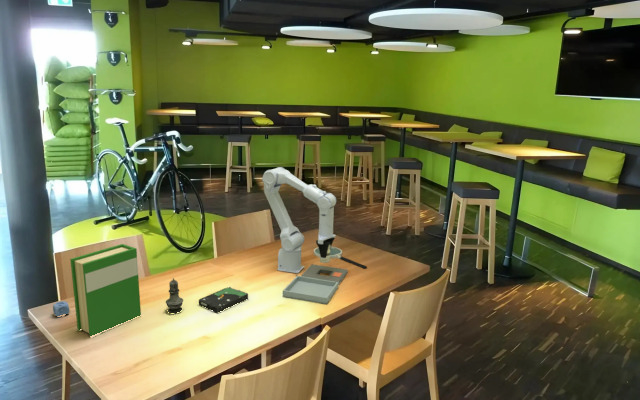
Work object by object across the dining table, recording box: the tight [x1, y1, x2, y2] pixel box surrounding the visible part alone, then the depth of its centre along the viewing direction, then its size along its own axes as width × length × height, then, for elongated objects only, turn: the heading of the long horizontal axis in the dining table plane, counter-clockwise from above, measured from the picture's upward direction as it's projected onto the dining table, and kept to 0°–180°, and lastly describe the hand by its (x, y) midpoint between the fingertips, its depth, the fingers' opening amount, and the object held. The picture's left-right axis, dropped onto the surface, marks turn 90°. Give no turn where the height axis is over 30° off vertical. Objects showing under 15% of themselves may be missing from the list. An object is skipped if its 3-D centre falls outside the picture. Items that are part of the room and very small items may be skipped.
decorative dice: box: [52, 300, 70, 316], centre depth 158 cm, size 4×4×4 cm
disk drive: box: [198, 286, 249, 313], centre depth 171 cm, size 10×3×15 cm
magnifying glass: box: [313, 246, 368, 270], centre depth 217 cm, size 13×31×2 cm, turn 42°
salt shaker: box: [165, 277, 184, 314], centre depth 162 cm, size 6×6×12 cm
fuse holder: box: [300, 263, 349, 286], centre depth 196 cm, size 16×14×2 cm
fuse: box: [319, 244, 332, 264], centre depth 194 cm, size 4×4×7 cm
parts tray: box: [282, 275, 339, 305], centre depth 180 cm, size 17×15×2 cm
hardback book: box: [70, 243, 142, 337], centre depth 151 cm, size 18×7×24 cm, turn 146°
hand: (325, 255), depth 194 cm, fingers closed on fuse, 4 cm apart
